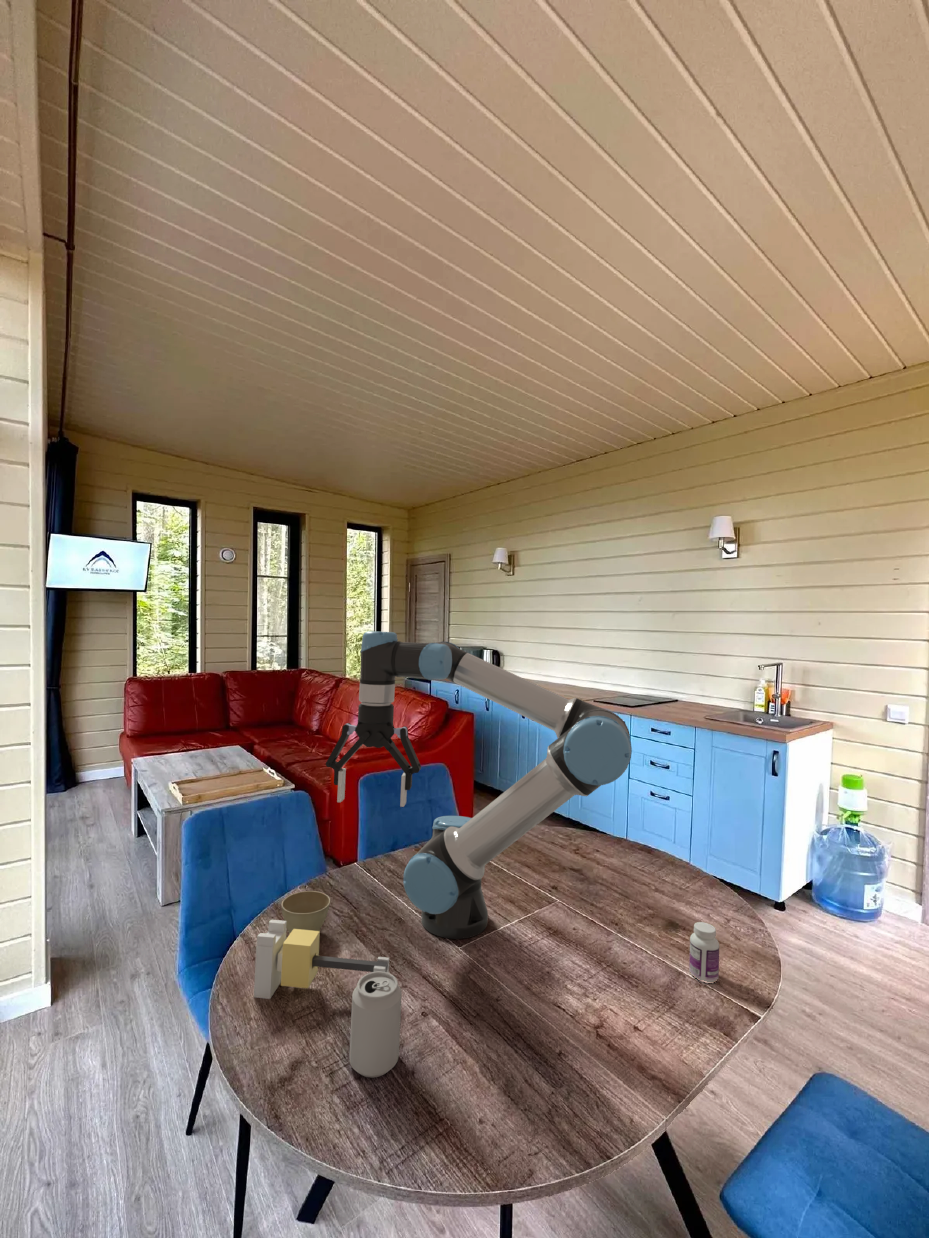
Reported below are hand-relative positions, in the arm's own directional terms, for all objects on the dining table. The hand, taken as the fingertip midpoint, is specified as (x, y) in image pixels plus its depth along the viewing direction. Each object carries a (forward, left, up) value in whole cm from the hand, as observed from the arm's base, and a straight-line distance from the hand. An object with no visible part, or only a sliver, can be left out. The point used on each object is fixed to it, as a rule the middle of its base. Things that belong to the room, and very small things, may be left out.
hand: (371, 802), depth 117 cm
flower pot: (+13, +1, -29) cm, 32 cm away
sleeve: (+7, +18, -27) cm, 33 cm away
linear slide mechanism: (+3, +18, -29) cm, 34 cm away
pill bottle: (-69, +2, -29) cm, 75 cm away
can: (-10, +32, -29) cm, 44 cm away
